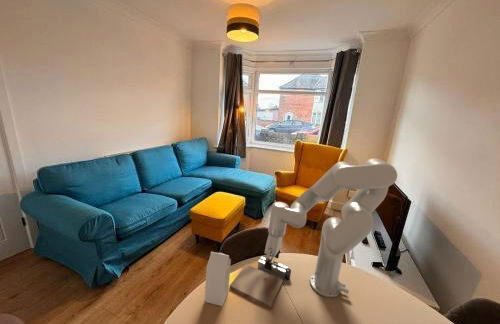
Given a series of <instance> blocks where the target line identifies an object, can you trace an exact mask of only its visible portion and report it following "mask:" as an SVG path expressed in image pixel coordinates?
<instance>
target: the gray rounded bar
mask: <svg viewBox="0 0 500 324" xmlns="http://www.w3.org/2000/svg"><path fill="white" fill-rule="evenodd" d="M265 259H266V257H264V256H260V259H259V260H258V262H257V269H259V270H261V271H264V272H266V273H268V274H271V275H273V276H275V277H277V278H280V279H282V280H283V281H284V280H285V281H289V280H291V274H292V270H291V268H289V267H288V266H287V265H284V264H282V263H279V262H278V261H274V260H272V268H271V271H270V270H268V269H265V268H264V265H265Z"/></svg>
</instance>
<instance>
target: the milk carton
mask: <svg viewBox="0 0 500 324" xmlns="http://www.w3.org/2000/svg"><path fill="white" fill-rule="evenodd" d="M231 261H232V259H231V258H230V255H228V254H225V253H222V252H214V251H210V254H209V259H208V262H207V264H206V272H205V289H204V302H205V303H209V304H212V305H216V306H220V307H223V306H224V303H225V301H226V297H227V295H228V293H229V287H230V273H231Z"/></svg>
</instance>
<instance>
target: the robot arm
mask: <svg viewBox="0 0 500 324" xmlns="http://www.w3.org/2000/svg"><path fill="white" fill-rule="evenodd" d="M397 178H398V172H397V170H396V168H395V167H394V166H393V165H391V164H390V163H389V162H386V161H384V160H383V159H380V158H375V157H374V158H373V157H372V158H369V159H367V160H366V161H365V162H364V163H363V164H360V165H352V164H351V163H349V162H346V161H339V162H336V163H335V164H334V165H333V166H331V167H330V169H328V170H327V172H325V173H324V174H323V175H322V177H320V178H319V179H318V180H317V181H316V182H315V183H314V184H313V185H312V186H310V187H309V188H308V189H306V190H305V191H304V192H302V193H301V194H300V195H299V196H298V197H297V198H296V199H295V200H294V201H293V202H292V203H291V205H290V206H289V205H288V203H285V202H282V201H275V202H273V203H272V205H271V211H270V218H269V224H268V231H267V232H268V236H267V239H266V243H265V249H264V255H266V256H265V258H266V259H265V265H264V268H265V269H268V270H270V271H271V268H272V261H274V258H276V259H279V257H280V250H281V247H282V244H283V238H284V237H285V235H286V230H287V225H288V226H289V225H290V226H291V227H293V228H299V229H300V228H302V227H304V226H305V225H306V223H307V218H308V217H307V213H308V212H309V211H310V210H311V209H312V208H313V207H314V206H316V205H318V204H319V203H321V202H326V203H327V202H329V201H331V199H333V198H334V196H336V195H337V194H338V193H340V192H341V190H342V189H344V190H357V192H356V193H355V194H354V195H353V196H352V197H350V199H349V200H347V202H346V203H344V205H343V206H342V208H341V216H342V217H341V218H342V219H341V218H339V217H336V216H331V217H329V218H326V220H324V222H323V223H322V224H323V225H322V228H321V235H320V244H319V249H318V254H317V259H316V263H315V264H316V265H315V270H314V271H315V272H314V273H313V274H312V275H311V276H310V278H309V284H310V286H311V288H312V289H313V290H314V292H316V293H317V294H319V295H321V296H323V297H326V298H336V297H337V296H339V294H340V293H341V292H342V293H345V294H349V292H350V289H349V288H348V287H347V285H346V283H343V282H341V281H340V272H341V267H342V263H343V259H344V255H346V254H348V253H349V252H351V251H353V249H355V248H356V247H357V246H358V245H359V244H361V242H362V241H363V240H365V239H366V237H368V236H369V235H370V233H372V231H373V228H374V227H375V226H374V225H375V223H374V222H375V220H374V217H373V216H372V213H373V212H374V211H375V210H376V209H377V208H378V207H379V206H380V205H381V204H382V202H383V201H384V200H385V198H386V197H387V194H388V192H389V187H390V186H392V185H393V184H394V183H396V181H397ZM270 257H271V258H270Z"/></svg>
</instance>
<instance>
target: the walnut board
mask: <svg viewBox="0 0 500 324" xmlns="http://www.w3.org/2000/svg"><path fill="white" fill-rule="evenodd" d="M283 283H284V280H283V279H281V278H278V277H276V276H274V275H271V274H269V273H267V272H264V271H262V270H260V269H258V267H254V266H252V265H249V264H245V266H244V267H243V268H242V269H241V271H239V273H238V274H237V275H236V276H235V278H234V279H233V280H232V281H231V283H229V288H228V290H229V289H230V290H231V291H233V292H235V293H238V294H239V295H242V296H243V297H245V298H247V299H249V300H252V301H253V302H255V303H257V304H259V305H260V306H263V307H265V308H267V309H269V310H271V308H272V307H273V304H274V302H275V300H276V298H277V295H278V293H279V291H280V290H281V287H282V285H283Z"/></svg>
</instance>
